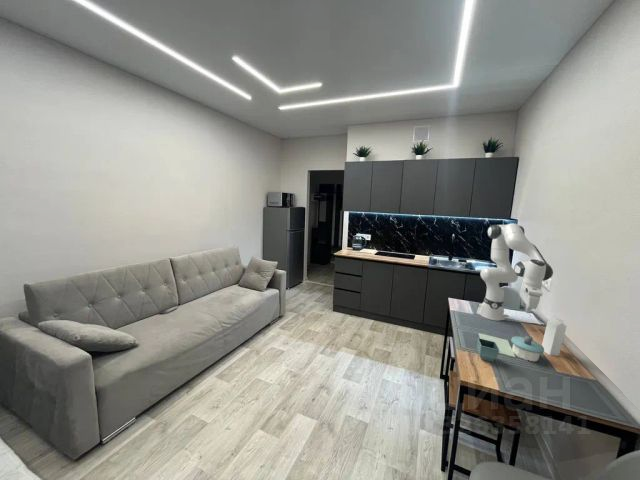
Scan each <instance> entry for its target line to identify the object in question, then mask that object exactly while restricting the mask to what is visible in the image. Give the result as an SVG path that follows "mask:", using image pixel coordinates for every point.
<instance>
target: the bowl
mask: <svg viewBox="0 0 640 480" xmlns="http://www.w3.org/2000/svg"><path fill="white" fill-rule="evenodd" d="M511 348H512V350H513V352H514V355H515V356H517V357H518V358H520V359H522V358H523V360H525V361H528V360H529V361H530V362H538V361H539V359H540V356H541V353H532V352H529V351H526V350H523V349H521V348H519V347H517V346H515V345H514V344H513V343H512V346H511ZM529 361H528V362H529Z"/></svg>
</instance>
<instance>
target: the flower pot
mask: <svg viewBox="0 0 640 480" xmlns="http://www.w3.org/2000/svg"><path fill="white" fill-rule="evenodd" d="M476 343H477V344H476V346H477V352H478V354H479V358H480V360H483V361H487V362H494V361H495V360H496V358H497V357H498V355H499V348H498V346H497V344H496V343H495V342H493V341H489V340H484V339H480V337H478V338H477V342H476Z"/></svg>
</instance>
